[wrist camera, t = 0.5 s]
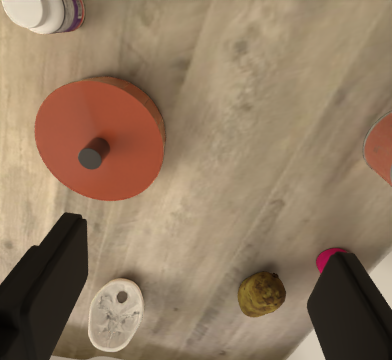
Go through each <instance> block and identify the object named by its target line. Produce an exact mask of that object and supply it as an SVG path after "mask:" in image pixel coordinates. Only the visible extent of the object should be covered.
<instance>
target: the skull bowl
mask: <svg viewBox="0 0 392 360" xmlns="http://www.w3.org/2000/svg"><path fill="white" fill-rule="evenodd" d="M120 291H125V292H126V293H127V295H128V297H127V300H126V301H125V302H124V303H119V302H118V299H117V297H116V296H117V295H118V293H119V292H120ZM100 300H101V301H100ZM111 302H112V303H111ZM144 307H145V306H144V299H143V297H142V293H141V291H140V288H139V287H138V286H137V285H136V284H135V283H134V282H133V281H131V280H128V279H121V278H119V279H114V280H111V281H110V282H108V283H107V284H106V285H105V286H103V287H102V288H101V289H100V291H99V292H98V293H97V294H96V296H95V297H94V299H93V301H92V303H91V306H90V312H89V328H88V334H89V338H90V340H91V342H92V344H93V345H94V346H95V347H96V348H98V349H100V350H103V351H108V352H116V351H119V350H121V349H122V348H124V347H125V346H127V344H128V343H129V342H130V340H131V338H132V337H133V335H134V333H135V332H136V330H137V329H138V327H139V325H140V323H141V321H142V318H143V312H144ZM109 331H110V332H111V334H109ZM99 332H100V333H99ZM113 332H115V333H113Z"/></svg>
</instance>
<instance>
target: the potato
mask: <svg viewBox="0 0 392 360" xmlns="http://www.w3.org/2000/svg"><path fill="white" fill-rule="evenodd" d="M285 296H286V291H285V288H284V286H283V283H282V281H281V280H280V279H279V278H278V275H277V274H275V273H273V274H272V273H268V272H264V271H263V272H260V273H256V274H254V275H252V276H250V277H249V278H247V279H245V280H244V281H243V282H242V284H241V285H240V288H239V291H238V302H239V305H240V308H241V310H242V312H243V313H244V314H245V315H247V316H249V317H259V316H263V315H265V314H268V313H271V312H274V311H275V310H277V309H278V308H279V307H280V306H281V305H282V303H283V302H284V301H285Z"/></svg>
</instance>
